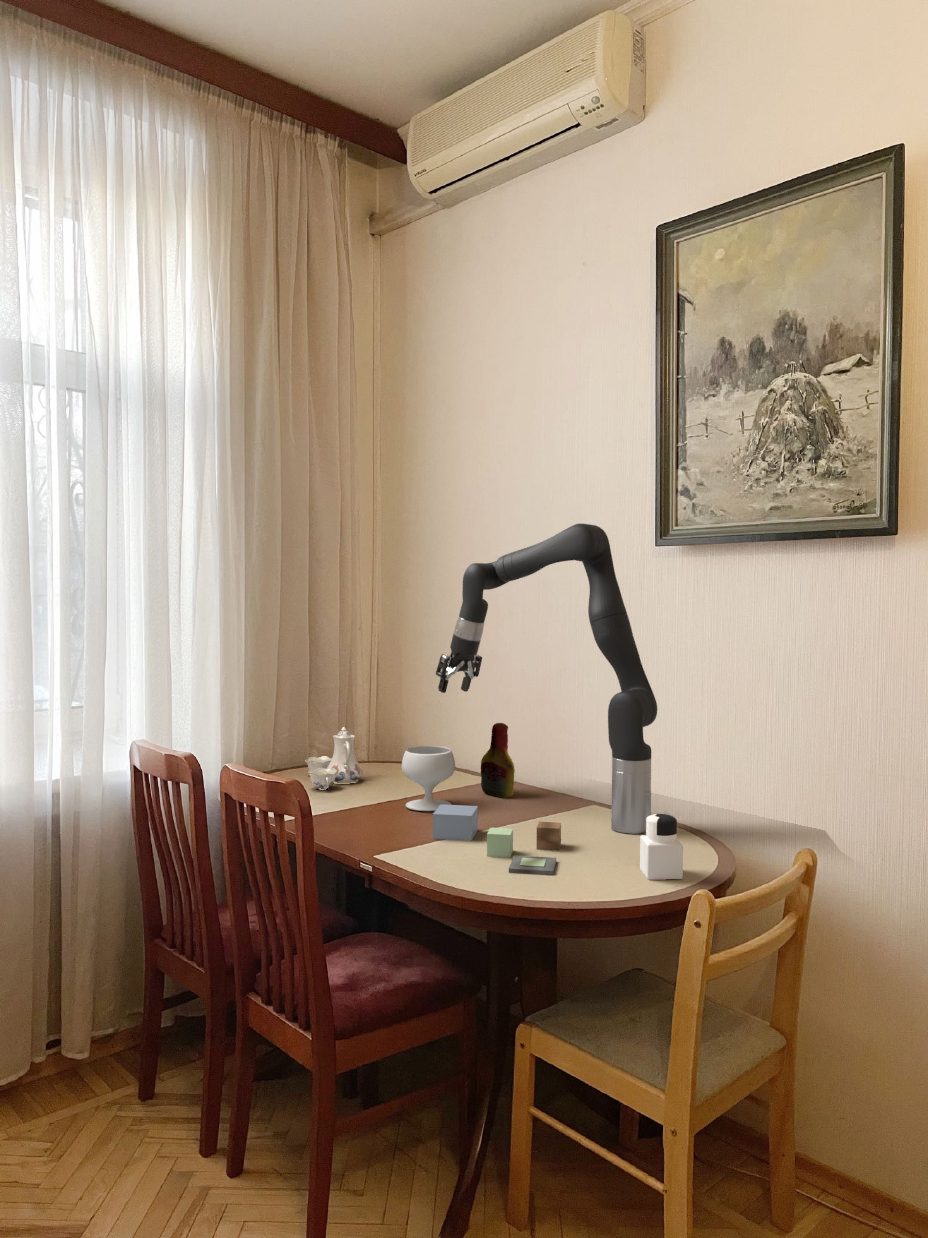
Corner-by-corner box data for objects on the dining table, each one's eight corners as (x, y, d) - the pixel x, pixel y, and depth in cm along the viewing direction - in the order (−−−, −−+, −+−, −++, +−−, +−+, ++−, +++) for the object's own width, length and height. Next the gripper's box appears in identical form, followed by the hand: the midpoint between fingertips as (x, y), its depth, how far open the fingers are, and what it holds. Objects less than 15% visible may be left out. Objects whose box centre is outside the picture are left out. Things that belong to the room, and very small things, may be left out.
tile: (556, 861, 197) (556, 856, 197) (552, 875, 188) (552, 870, 188) (514, 859, 199) (514, 854, 199) (508, 872, 190) (508, 867, 190)
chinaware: (300, 779, 283) (294, 725, 282) (354, 770, 288) (348, 717, 287) (313, 800, 256) (306, 741, 255) (372, 790, 261) (366, 732, 260)
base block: (477, 831, 221) (477, 806, 221) (471, 841, 212) (471, 815, 212) (440, 829, 223) (440, 804, 222) (432, 839, 214) (432, 814, 213)
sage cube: (512, 851, 205) (513, 828, 204) (510, 858, 200) (510, 835, 200) (490, 850, 206) (490, 827, 205) (487, 856, 201) (487, 833, 200)
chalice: (444, 815, 234) (444, 756, 234) (393, 810, 239) (393, 752, 238) (462, 802, 248) (462, 746, 247) (413, 798, 252) (413, 743, 251)
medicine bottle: (673, 868, 192) (674, 811, 192) (683, 880, 185) (683, 820, 185) (639, 869, 192) (640, 811, 192) (647, 880, 185) (648, 820, 185)
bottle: (520, 797, 253) (520, 724, 252) (502, 801, 249) (502, 727, 248) (493, 789, 263) (494, 719, 262) (475, 792, 259) (475, 721, 258)
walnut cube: (560, 844, 210) (561, 822, 210) (559, 851, 205) (559, 828, 205) (538, 843, 211) (538, 821, 210) (536, 849, 206) (536, 827, 206)
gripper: (458, 639, 242) (443, 697, 246) (495, 639, 252) (480, 695, 256) (439, 630, 247) (425, 687, 251) (476, 630, 257) (462, 685, 261)
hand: (453, 691), depth 253 cm, fingers open, 8 cm apart
